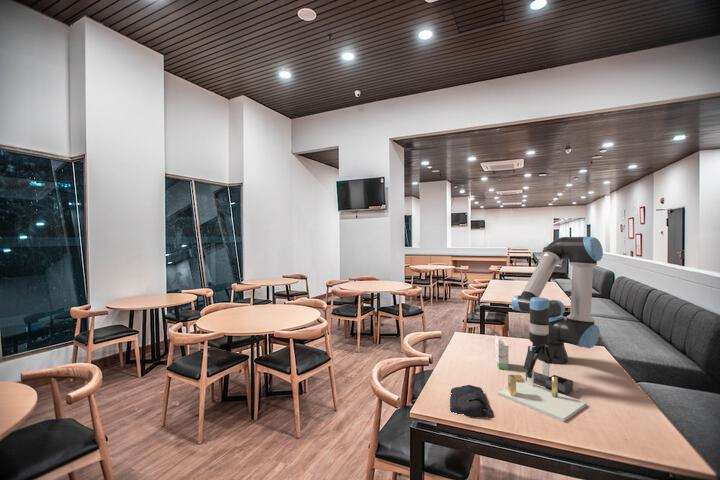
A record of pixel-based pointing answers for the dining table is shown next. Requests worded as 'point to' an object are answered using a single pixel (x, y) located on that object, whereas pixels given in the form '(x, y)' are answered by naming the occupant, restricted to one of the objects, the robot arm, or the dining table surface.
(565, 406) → the board
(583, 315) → the robot arm
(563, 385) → the link
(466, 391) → the black flat irregular piece
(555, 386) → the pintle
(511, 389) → the block
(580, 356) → the dining table surface
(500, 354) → the ink box
